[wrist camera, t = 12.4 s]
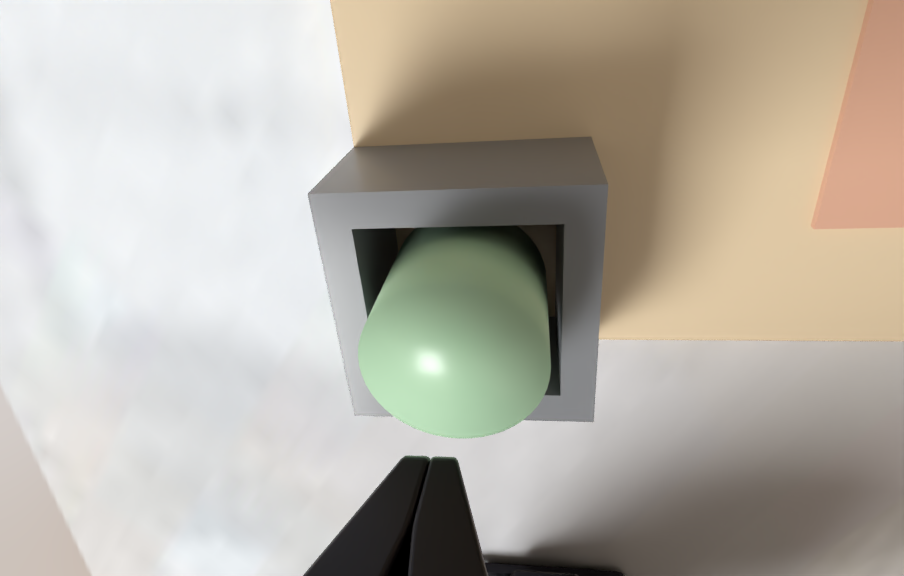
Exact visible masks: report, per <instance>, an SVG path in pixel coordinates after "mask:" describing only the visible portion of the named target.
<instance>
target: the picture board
mask: <svg viewBox="0 0 904 576" xmlns="http://www.w3.org/2000/svg"><path fill="white" fill-rule="evenodd" d="M330 3H331V9H332V15H333V21H334V27H335V33H336V39H337V46H338V52H339V58H340V64H341V70H342V76H343V82H344V89H345V95H346V101H347V107H348V113H349V119H350V125H351V131H352V138H353V144H354V147H366V146H389V145H411V144H434V143H456V142H479V141H501V140H524V139H546V138H569V137H592V140H593V143H594V146H595V149H596V151H597V154H598V157H599V160H600V163H601V165H602V168H603V171H604V174H605V176H606V179H607V182H608V198H607V214H606V230H605V246H604V262H603V278H602V294H601V309H600V325H599V339H609V340H765V341H904V0H330ZM517 226H518V227H519V228H521V229H522V230H523V231H524V232H525V233H526V234H527V235H528V236H529V237H530V238H531V239H532V241H533V242H534V243H535V245H536V246H537V248H538V250H539V252H540V253H541V256H542V259H543V261H544V265H545V269H546V280H547V300H548V317H555V283H556V224H554V225H517ZM414 229H415V228H395V230H396V237H397V245H398V252H399V250H400V248H401V246H402V244H403V243H404V241H405V239H406V238H407V237H408V236H409V234H410V233H411V232H412V231H413V230H414Z"/></svg>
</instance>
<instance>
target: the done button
mask: <svg viewBox="0 0 904 576" xmlns="http://www.w3.org/2000/svg"><path fill="white" fill-rule="evenodd" d="M358 360H359V367H360V370H361V374H362V377H363V379H364V381H365V384H366V386H367V387H368V389H369V391H370V392H371V394H372V395H373V396H374V398H375V399H376V400H377V401H378V403H379V404H380V405H381V406H382V407H383V408H384V409H385V410H387V411H388V412H389V413H390V414H392V415H393V416H394V417H396V418H397V419H399V420H400V421H402V422H403V423H405V424H407V425H409V426H411V427H413V428H415V429H418V430H421V431H423V432H426V433H430V434H433V435H437V436H443V437H449V438H477V437H484V436H488V435H493V434H496V433H499V432H502V431H504V430H507V429H509V428H511V427H513V426H515V425H516V424H518V423H519V422H521V421H522V420H524V419H525V418H526V417H527V416H528V415H530V414H531V413H532V412H533V411H534V409H535V408H536V407H537V406H538V405H539V403H540V402H541V400H542V399H543V397H544V395H545V392H546V390H547V388H548V384H549V380H550V373H551V359H550V339H549V319H548V300H547V280H546V269H545V265H544V261H543V259H542V256H541V253H540V252H539V250H538V248H537V246H536V245H535V243H534V242H533V241H532V239H531V238H530V237H529V236H528V235H527V234H526V233H525V232H524V231H523V230H522V229H521V228H519V227H518V226H517V225H509V226H465V227H420V228H415V229H414V230H413V231H412V232H411V233H410V234H409V236H408V237H407V238H406V239H405V241H404V243H403V244H402V246H401V248H400V250H399V252H398V254H397V257H396V259H395V261H394V263H393V265H392V267H391V269H390V272H389V274H388V276H387V278H386V280H385V282H384V284H383V287H382V289H381V291H380V293H379V295H378V297H377V300H376V302H375V304H374V306H373V308H372V310H371V312H370V315H369V317H368V319H367V321H366V323H365V325H364V328H363V330H362V333H361V335H360V340H359V345H358Z"/></svg>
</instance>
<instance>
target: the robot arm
mask: <svg viewBox="0 0 904 576" xmlns="http://www.w3.org/2000/svg"><path fill="white" fill-rule="evenodd" d="M303 576H625V575H624V574H622V573H620V572H616V571H604V570H588V569H573V568H557V567H541V566H526V565H510V564H495V563H485V562H484V558H483V554H482V551H481V547H480V543H479V539H478V535H477V532H476V528H475V524H474V520H473V516H472V513H471V509H470V505H469V501H468V497H467V494H466V490H465V486H464V482H463V478H462V475H461V471H460V467H459V463H458V460H457V459H456V458H454V457H433V458H432V459H431V460H430V458H429V457H427V456H405V457H403V458H402V459H401V460H400V461H399V462H398V463H397V465H396V466H395V467H394V468H393V469H392V470H391V472H390V473H389V474H388V475H387V476H386V478H385V479H384V480H383V481H382V482H381V484H380V485H379V486H378V487H377V488H376V490H375V491H374V492H373V493H372V494H371V495H370V497H369V498H368V499H367V500H366V501H365V503H364V504H363V505H362V506H361V507H360V509H359V510H358V511H357V512H356V513H355V515H354V516H353V517H352V518H351V519H350V520H349V522H348V523H347V524H346V525H345V526H344V528H343V529H342V530H341V531H340V532H339V534H338V535H337V536H336V537H335V538H334V539H333V541H332V542H331V543H330V544H329V545H328V547H327V548H326V549H325V550H324V551H323V553H322V554H321V555H320V556H319V557H318V559H317V560H316V561H315V562H314V563H313V564H312V566H311V567H310V568H309V569H308V570H307V572H306V573H305V574H304V575H303Z"/></svg>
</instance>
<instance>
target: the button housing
mask: <svg viewBox="0 0 904 576" xmlns="http://www.w3.org/2000/svg"><path fill="white" fill-rule="evenodd" d="M308 198H309V203H310V208H311V212H312V217H313V222H314V226H315V231H316V236H317V240H318V245H319V250H320V255H321V259H322V264H323V269H324V273H325V278H326V283H327V288H328V292H329V297H330V302H331V306H332V311H333V316H334V320H335V325H336V330H337V335H338V339H339V344H340V349H341V353H342V358H343V363H344V367H345V372H346V377H347V382H348V386H349V391H350V396H351V400H352V405H353V410H354V415H355V416H391V417H394V416H393V415H392V414H390V413H389V412H388V411H387V410H385V409H384V408H383V407H382V406H381V405H380V404H379V403H378V401H377V400H376V399H375V398H374V396H373V395H372V394H371V392H370V391H369V389H368V387H367V386H366V384H365V381H364V379H363V377H362V374H361V370H360V367H359V360H358V345H359V340H360V335H361V333H362V330H363V328H364V325H365V323H366V321H367V319H368V317H369V315H370V312H371V310H372V308H373V306H374V304H375V302H376V300H377V297H378V295H379V293H380V291H381V289H382V287H383V284H384V282H385V280H386V278H387V276H388V274H389V272H390V269H391V267H392V265H393V263H394V261H395V259H396V257H397V254H398V245H397V237H396V230H395V228H420V227H465V226H509V225H554V224H556V283H555V317H548V319H549V339H550V359H551V373H550V380H549V384H548V388H547V390H546V392H545V395H544V397H543V399H542V400H541V402H540V403H539V405H538V406H537V407H536V408H535V409H534V411H533V412H532V413H531V414H530V415H528V416H527V417H526V418H525V419H524V420H539V421H576V422H593V421H594V405H595V389H596V373H597V357H598V341H599V325H600V309H601V294H602V278H603V262H604V246H605V230H606V214H607V198H608V182H607V179H606V176H605V174H604V171H603V168H602V165H601V163H600V160H599V157H598V154H597V151H596V149H595V146H594V143H593V140H592V137H569V138H546V139H524V140H501V141H479V142H456V143H434V144H411V145H389V146H366V147H354V148H353V149H352V150H351V151H350V152H349V153H348V154H347V155H346V156H345V157H344V158H343V159H342V160H341V161H340V162H339V163H338V164H337V165H336V166H335V167H334V168H333V169H332V170H331V171H330V172H329V173H328V174H327V175H326V176H325V177H324V178H323V179H322V180H321V181H320V182H319V183H318V184H317V185H316V186H315V187H314V188H313V189H312V190H311V191H310V192H309V193H308Z"/></svg>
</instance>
